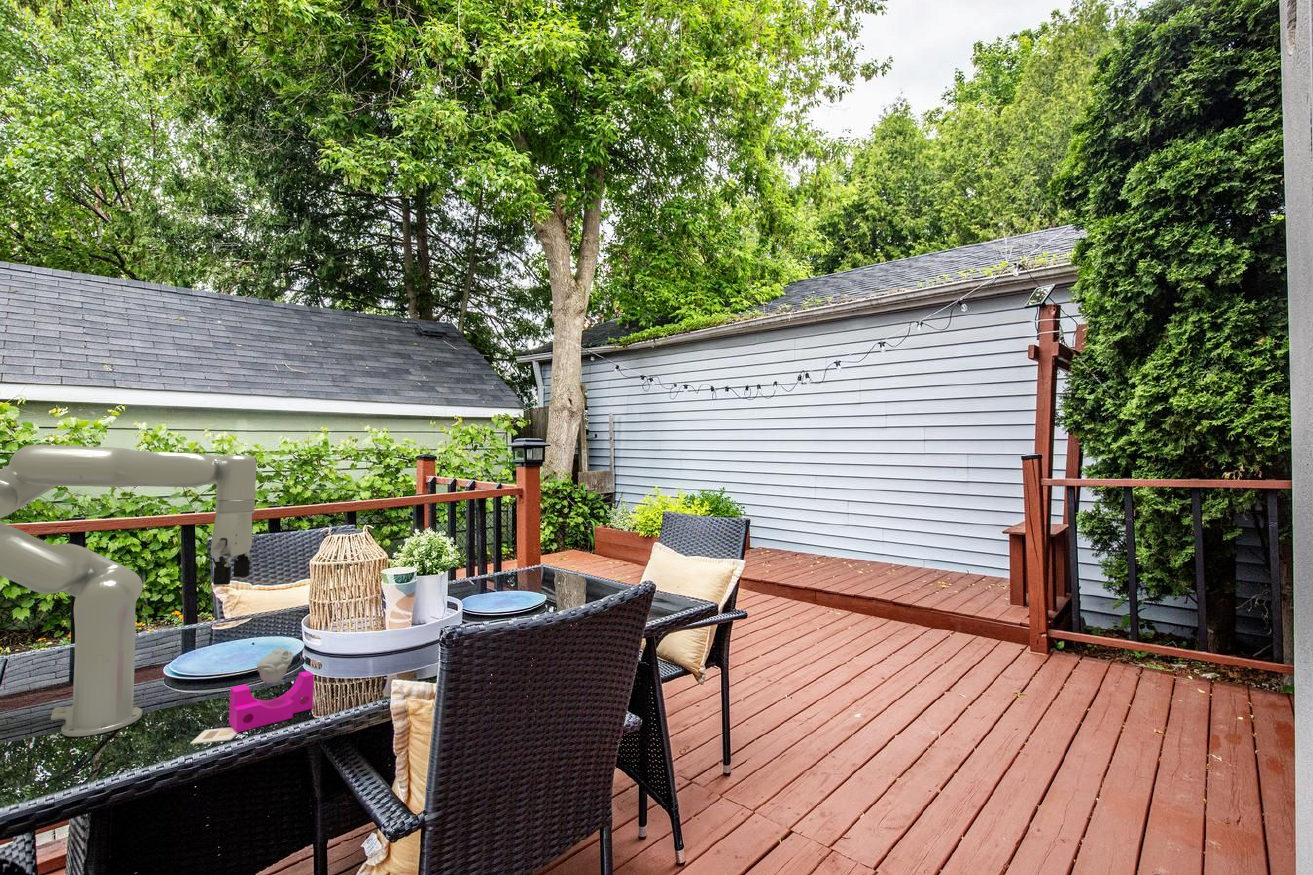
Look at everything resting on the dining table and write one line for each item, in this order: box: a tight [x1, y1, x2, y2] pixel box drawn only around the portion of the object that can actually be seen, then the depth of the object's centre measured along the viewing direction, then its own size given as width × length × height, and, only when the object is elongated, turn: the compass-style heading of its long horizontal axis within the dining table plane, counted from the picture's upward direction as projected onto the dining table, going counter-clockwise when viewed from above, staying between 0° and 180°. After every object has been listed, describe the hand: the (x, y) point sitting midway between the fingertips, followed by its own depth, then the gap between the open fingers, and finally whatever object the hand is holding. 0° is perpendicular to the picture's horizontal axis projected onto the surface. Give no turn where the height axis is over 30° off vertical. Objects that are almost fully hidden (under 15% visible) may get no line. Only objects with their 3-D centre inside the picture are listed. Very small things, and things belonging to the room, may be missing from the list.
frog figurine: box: [256, 648, 294, 684], centre depth 131 cm, size 6×7×7 cm
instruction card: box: [189, 726, 239, 745], centre depth 122 cm, size 7×6×1 cm
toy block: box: [228, 670, 315, 734], centre depth 130 cm, size 15×6×8 cm, turn 137°
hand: (231, 580), depth 140 cm, fingers open, 9 cm apart
